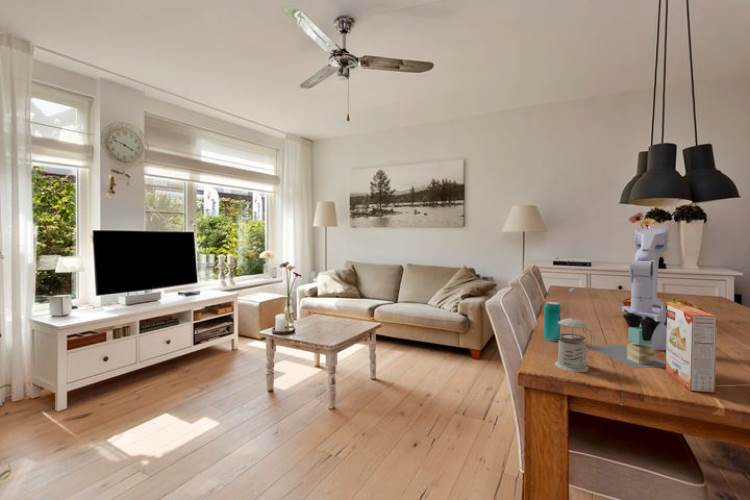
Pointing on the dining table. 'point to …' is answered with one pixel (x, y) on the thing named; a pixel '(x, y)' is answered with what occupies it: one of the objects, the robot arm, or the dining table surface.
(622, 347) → the slate mat
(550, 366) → the dining table surface
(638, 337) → the teal block
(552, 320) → the beverage can
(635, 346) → the tower upper
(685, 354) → the cracker box
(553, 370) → the dining table surface
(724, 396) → the dining table surface
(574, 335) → the french press
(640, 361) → the tower lower
